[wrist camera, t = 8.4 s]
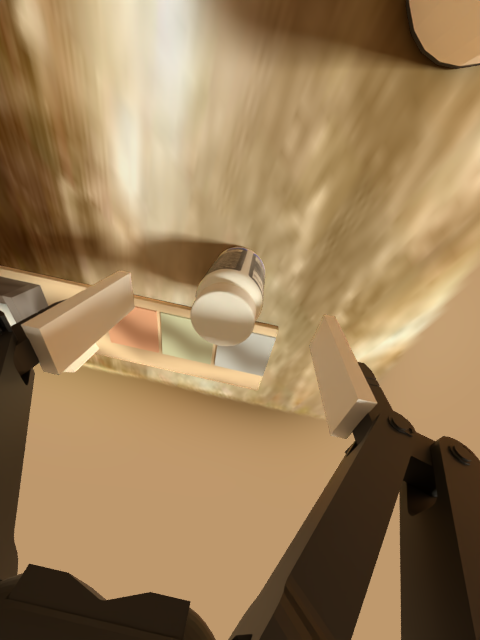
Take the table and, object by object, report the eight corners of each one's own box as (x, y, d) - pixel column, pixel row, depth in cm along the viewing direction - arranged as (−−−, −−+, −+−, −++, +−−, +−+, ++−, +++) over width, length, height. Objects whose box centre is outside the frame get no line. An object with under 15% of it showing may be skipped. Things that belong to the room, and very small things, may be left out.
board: (-29, 258, 23) (-75, 270, 20) (278, 326, 22) (278, 348, 19) (11, 331, 29) (-20, 348, 26) (257, 386, 28) (255, 411, 25)
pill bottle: (208, 282, 21) (175, 334, 14) (225, 236, 18) (194, 271, 11) (252, 302, 21) (241, 361, 14) (274, 260, 19) (275, 306, 12)
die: (55, 323, 26) (22, 344, 22) (84, 323, 25) (54, 345, 22) (72, 348, 28) (44, 371, 25) (99, 348, 27) (74, 372, 24)
